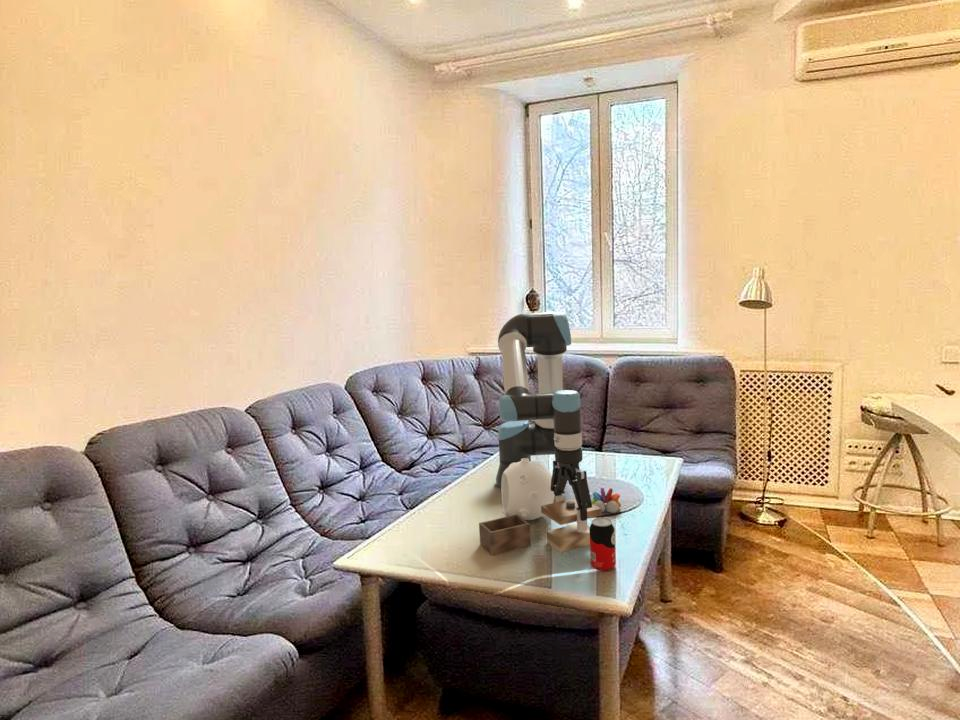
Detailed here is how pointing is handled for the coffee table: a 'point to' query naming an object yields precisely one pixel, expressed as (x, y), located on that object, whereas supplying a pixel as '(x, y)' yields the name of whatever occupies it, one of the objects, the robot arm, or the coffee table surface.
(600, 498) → the rainbow disc baby toy
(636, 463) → the coffee table surface
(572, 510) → the lid
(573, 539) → the light wooden block
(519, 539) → the box
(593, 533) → the beverage can
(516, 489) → the decorative ball
